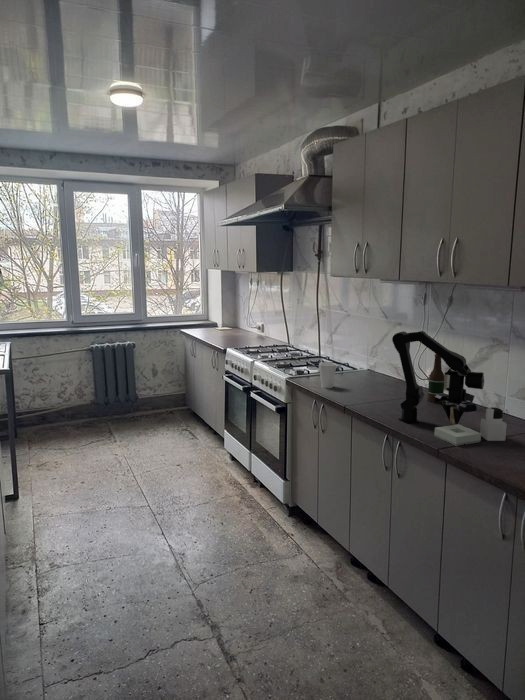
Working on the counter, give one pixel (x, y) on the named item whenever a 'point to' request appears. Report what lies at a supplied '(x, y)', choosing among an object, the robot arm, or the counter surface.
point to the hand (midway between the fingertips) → (453, 422)
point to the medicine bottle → (493, 425)
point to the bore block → (457, 434)
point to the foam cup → (327, 374)
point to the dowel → (452, 416)
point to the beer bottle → (436, 380)
